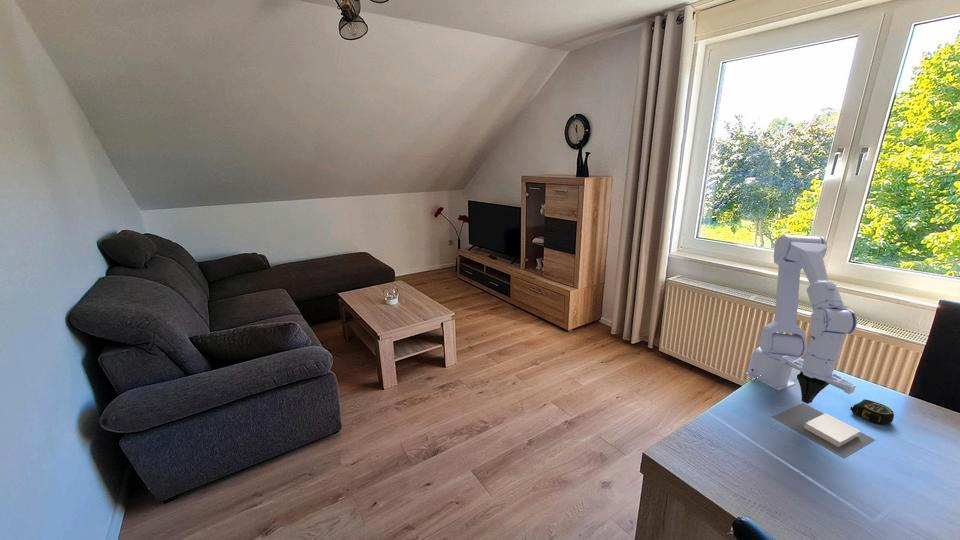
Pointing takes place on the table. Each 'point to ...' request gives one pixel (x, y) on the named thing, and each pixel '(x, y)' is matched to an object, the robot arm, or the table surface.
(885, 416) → the tape measure
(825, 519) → the table surface
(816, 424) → the cream rectangular panel
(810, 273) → the robot arm
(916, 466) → the table surface
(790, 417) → the mat
